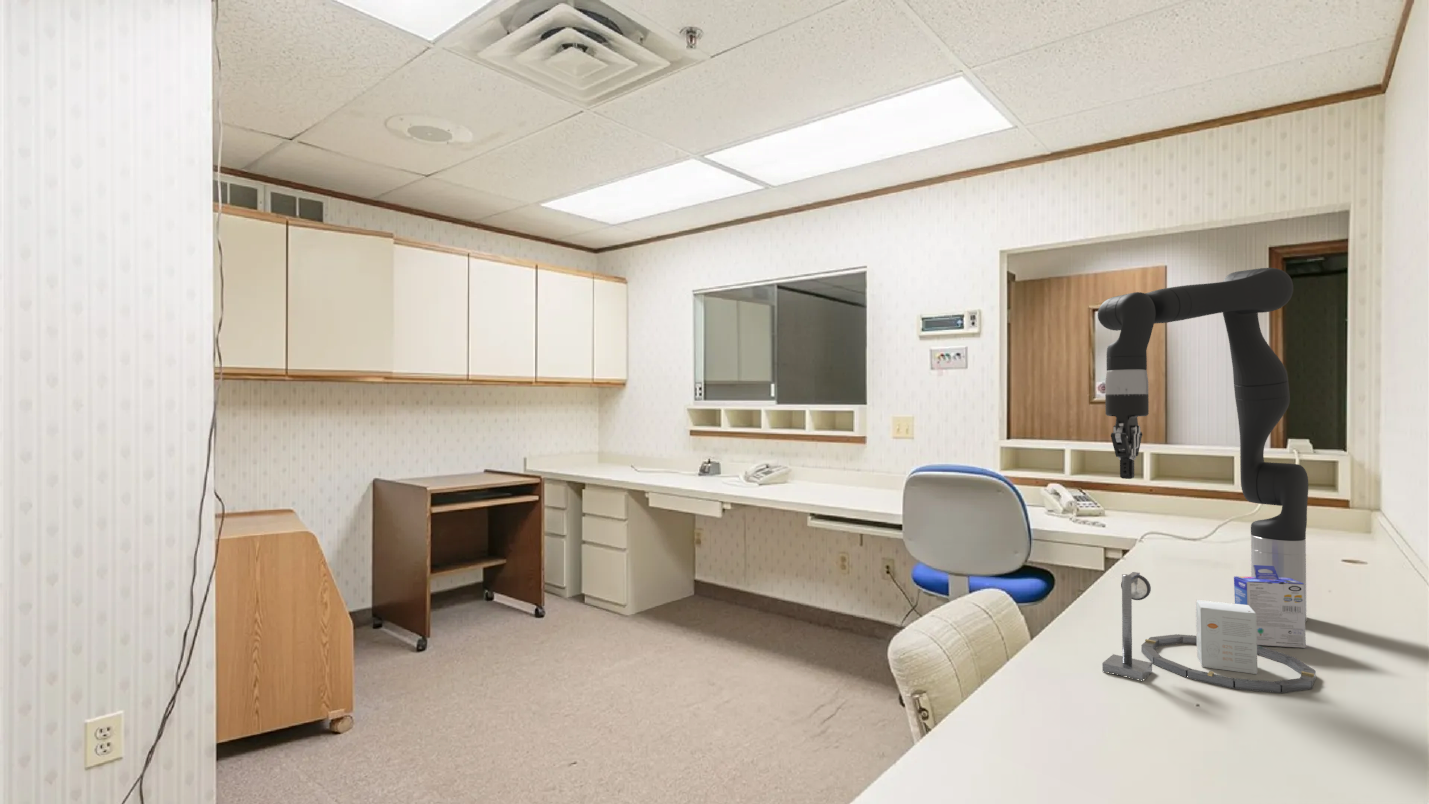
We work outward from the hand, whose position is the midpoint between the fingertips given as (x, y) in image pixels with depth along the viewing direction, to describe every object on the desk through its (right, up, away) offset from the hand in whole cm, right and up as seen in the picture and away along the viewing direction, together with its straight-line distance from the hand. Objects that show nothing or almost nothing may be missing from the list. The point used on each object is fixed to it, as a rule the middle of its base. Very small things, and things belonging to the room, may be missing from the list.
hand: (1127, 478), depth 140 cm
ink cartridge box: (+23, -31, -7) cm, 39 cm away
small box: (+6, -31, -19) cm, 37 cm away
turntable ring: (+6, -31, -18) cm, 36 cm away
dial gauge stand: (-12, -31, -20) cm, 39 cm away
